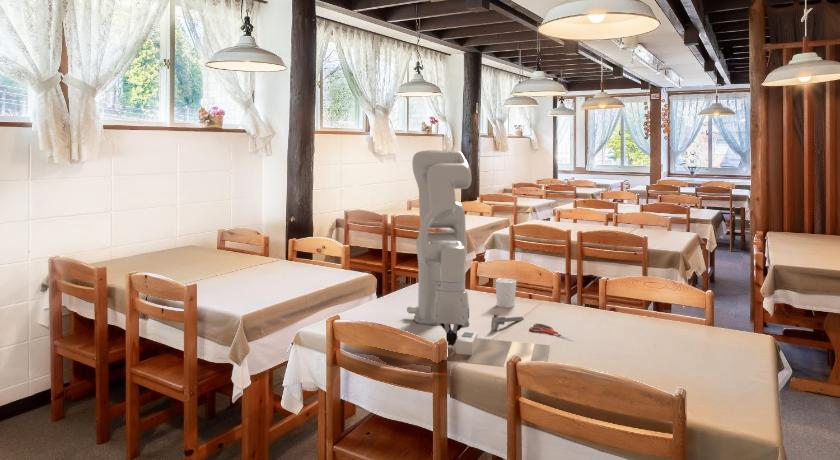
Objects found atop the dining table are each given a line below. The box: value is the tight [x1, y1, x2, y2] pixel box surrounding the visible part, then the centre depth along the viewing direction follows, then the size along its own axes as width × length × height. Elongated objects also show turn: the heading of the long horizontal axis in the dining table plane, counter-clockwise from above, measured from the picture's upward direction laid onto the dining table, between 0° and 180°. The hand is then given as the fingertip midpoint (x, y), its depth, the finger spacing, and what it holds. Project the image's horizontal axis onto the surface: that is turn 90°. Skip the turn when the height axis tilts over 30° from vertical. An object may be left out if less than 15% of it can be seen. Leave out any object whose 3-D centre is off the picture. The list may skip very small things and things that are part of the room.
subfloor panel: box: [446, 335, 550, 368], centre depth 176 cm, size 30×22×1 cm
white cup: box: [495, 278, 517, 309], centre depth 228 cm, size 8×8×10 cm
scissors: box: [528, 323, 575, 343], centre depth 194 cm, size 8×21×2 cm, turn 45°
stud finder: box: [456, 331, 479, 355], centre depth 178 cm, size 5×9×4 cm, turn 165°
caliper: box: [490, 313, 525, 332], centre depth 204 cm, size 20×1×6 cm, turn 141°
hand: (451, 344), depth 179 cm, fingers closed
